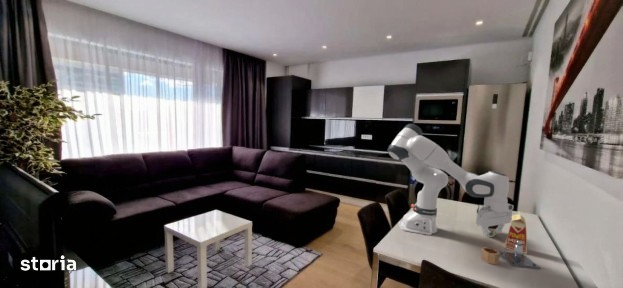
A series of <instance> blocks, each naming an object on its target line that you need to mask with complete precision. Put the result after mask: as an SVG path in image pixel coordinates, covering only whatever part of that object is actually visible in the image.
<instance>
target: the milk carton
mask: <svg viewBox="0 0 623 288" xmlns="http://www.w3.org/2000/svg"><path fill="white" fill-rule="evenodd" d="M527 234H528V233H527V222H526V219H525V217H524V216H523V215H521V211H518V214H512V218H511V221H510V226H509V229H508V234H507V236H506V239H505V242H504V247H503V248H504V249H506V250H509V251H512V252H514V248H515V244H516V243H517V240H520V241H522V244H521V245H523V250H522V254H524V255H527V254H528V235H527Z"/></svg>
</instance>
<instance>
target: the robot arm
mask: <svg viewBox="0 0 623 288" xmlns="http://www.w3.org/2000/svg"><path fill="white" fill-rule="evenodd" d="M387 153H388V155H389V156H390V157H391V158H393V159H394V160H397V161H401V162H402V163H403V164H404V165H405V166H406V167H407V168H408V169H409V171H410V172H411V177H412V179H414V180H416V181H417V182H419V183H420V184H423V187H422V189H421V190H419V191H418V193H417V199H416V204H413V203H412V204H410V205H411V208H412V210H411V211H409V212H407V213H406V214H404V215H403V218H402V220H399V221H398V226H399V228H400V229H401V230H402V231H405V232H409V233H415V234H421V235H427V236H432V234H436V233H438V228H437V215H438V208H437V203H438V196H439V194H440V192H441V190H443V188H445V187H446V186H447V185H448V183H449V177H448V175H450V177H451V176H452V178H453V179H455V180H456V181H457V182H458V184H459V186H460V187H461V188H462V189H463V191H465V192H466V193H467V194H468V195H469V196H470V197H473V198H484V200H483V205H484V207H482V208H481V209H480V210H479V211H478V214H477V213H476V220H475V224H476V225H477V226H478V227H480V228H481V227H482V229H483V231H482V234H483V235H485V236H487V235H489V231H488V230H487V229H488V227H489V226H495V225H498V228H496V231H497V232H498V234H499V233H502V232H503V228H504V226H505V224H511V218H512V215H513V210H514V205H513V204H510V203H508V202H509V201H508V194H509V191H510V190H509V189H510V179H509V176H508V175H506V174H505V173H502V172H500V171H494V170H490V171H489V170H488V172H485V173H484V174H481V175H478V174H477V173H475V172H474V173H473V172H471V171H467V170H465V169H463V168H462V167H461V166H459V165H458V164H457V163H455V162H454V161H453V160H452V159H451V158H450V156H449V154H448V153H447V152H446V151H445V150H444V148H442V147H441V146H440V145H439V144H437V143H436V142H434V141H432V140H431V139H429V138H427V137H425V136H423V131H422V129H421V128H420V126H418V125H417V124H413V123H408V124H406V125H405V126H404V127H403V129H402V130H401V131H399V133H398V134H397V135H396V136H395V138H394V139H393V140H392V142H391V144H389V145H388V148H387ZM445 172H446V173H445Z"/></svg>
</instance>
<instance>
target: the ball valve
mask: <svg viewBox="0 0 623 288" xmlns="http://www.w3.org/2000/svg"><path fill="white" fill-rule="evenodd" d="M477 205H478V207H477V209H476V215H477V214H478V211H479V210H480V209H481V208H482V207H484V204H477ZM496 228H498V225H495V226H489V227H488V229H487V230H488V231H489V235H486V236H487V237H489V238H494V237H495V236H498V234H499V232H497V231H496ZM480 229H481V230H480V231H481V232H483V229H482V227H481V226H480Z"/></svg>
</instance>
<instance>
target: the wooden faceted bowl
mask: <svg viewBox="0 0 623 288" xmlns="http://www.w3.org/2000/svg"><path fill="white" fill-rule="evenodd" d="M498 251H499V250H497V249H494V248H492V247H488V246H484V247H481V254H480V259H481V260H482V262H485V263H487V264H489V265H498V264H499V263H500V253H499V252H498Z"/></svg>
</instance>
